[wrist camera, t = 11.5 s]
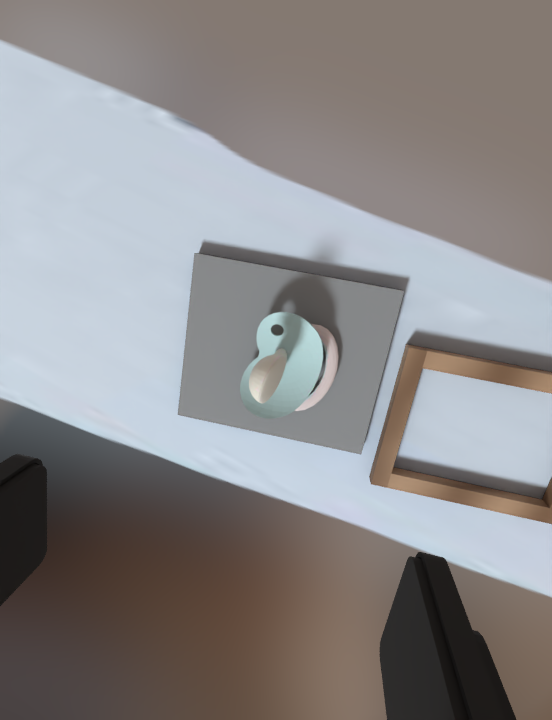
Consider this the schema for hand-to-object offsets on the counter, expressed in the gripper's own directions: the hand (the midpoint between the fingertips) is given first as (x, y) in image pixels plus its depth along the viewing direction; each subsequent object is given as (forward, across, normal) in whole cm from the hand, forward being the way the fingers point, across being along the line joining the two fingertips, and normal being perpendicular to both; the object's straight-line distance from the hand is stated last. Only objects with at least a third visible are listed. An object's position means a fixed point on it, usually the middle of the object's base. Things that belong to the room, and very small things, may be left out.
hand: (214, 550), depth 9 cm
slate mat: (+19, +1, 0) cm, 19 cm away
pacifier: (+18, 0, 0) cm, 18 cm away
